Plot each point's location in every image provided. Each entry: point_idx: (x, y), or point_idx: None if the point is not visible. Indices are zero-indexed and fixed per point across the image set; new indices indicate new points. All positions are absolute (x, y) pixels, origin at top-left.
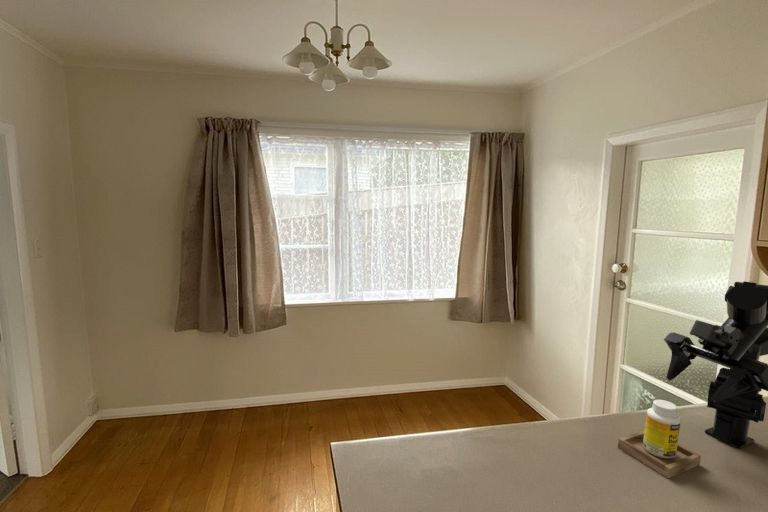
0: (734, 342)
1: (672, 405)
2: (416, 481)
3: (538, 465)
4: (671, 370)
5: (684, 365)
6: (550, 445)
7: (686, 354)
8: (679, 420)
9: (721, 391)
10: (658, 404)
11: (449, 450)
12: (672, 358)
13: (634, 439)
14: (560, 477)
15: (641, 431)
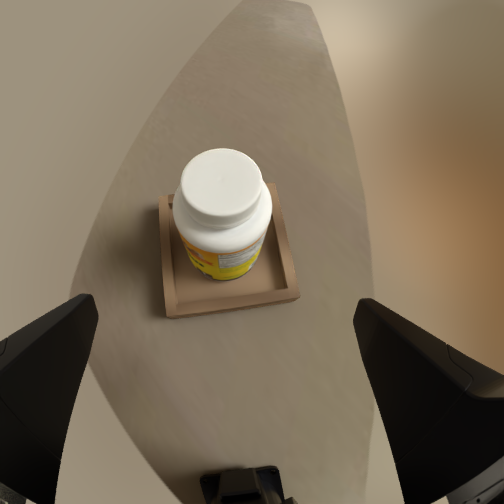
0: None
1: (203, 195)
2: (259, 13)
3: (255, 71)
4: (391, 323)
5: (408, 451)
6: (296, 103)
7: (467, 494)
8: (175, 217)
9: (43, 318)
10: (226, 155)
11: (299, 34)
12: (473, 363)
13: (273, 228)
14: (226, 77)
15: (291, 261)
